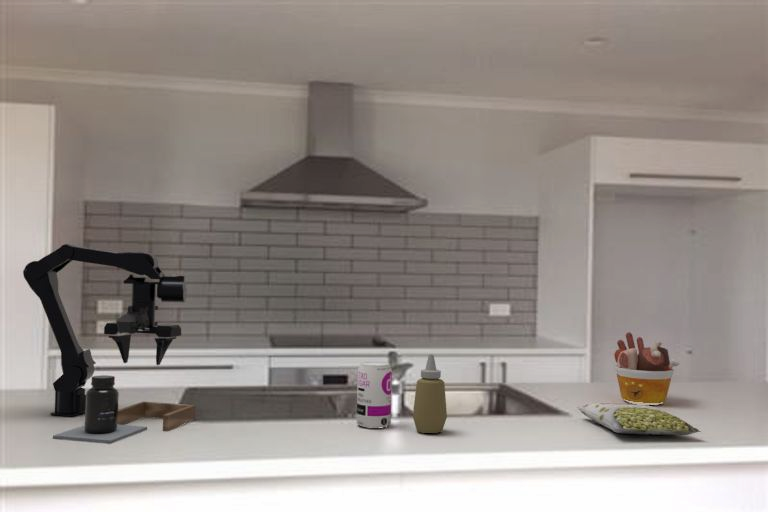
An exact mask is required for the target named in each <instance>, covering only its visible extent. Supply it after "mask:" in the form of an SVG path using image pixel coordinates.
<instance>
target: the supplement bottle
mask: <svg viewBox="0 0 768 512" xmlns="http://www.w3.org/2000/svg"><path fill="white" fill-rule="evenodd" d="M115 378H116V377H115V376H114V375H107V374H106V375H104V374H103V375H102V374H101V375H94V376H93V375H92V377H91V383H90V385H91V388H89V389H88V390H87V392H85V395H86V405H85V413H84V425H85V427H84V429H85V431H86V432H87V433H93V434H103V433H111V432H114V431H116V429H117V421H118V409H119V397H120V395H119V394H120V393H119V390H118V389H117V388H116V387H114V386H115V385H116V383H115V381H116V379H115Z"/></svg>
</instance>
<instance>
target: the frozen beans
mask: <svg viewBox="0 0 768 512" xmlns="http://www.w3.org/2000/svg"><path fill="white" fill-rule="evenodd" d="M576 408H577V409H578V410H579V411H580V412H581V413H582V414H583V415H584V416H586V417H587V418H589V419H591V420H592V421H594V422H596V423H598V424H600V425H602V426H604V427H606V428H607V429H610V430H612V432H615V433H617V434H628V435H629V434H630V435H632V434H633V435H649V434H652V435H653V436H654V435H656V436H658V435H661V436H664V435H665V436H687V435H692V434H695V433H702V431H701V430H699V429H698V428H696V427H694V426H693V425H691V424H690V423H688V422H687V421H685V420H683V419H681V418H680V417H678V416H675V415H673V414H671V413H669V412H666V411H664V410H662V409H660V408H658V407H656V406H648V405H637V404H630V403H608V402H607V403H593V404H592V403H591V404H585V405H582V406H578V407H576Z"/></svg>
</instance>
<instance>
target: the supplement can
mask: <svg viewBox="0 0 768 512" xmlns="http://www.w3.org/2000/svg"><path fill="white" fill-rule="evenodd" d="M392 377H393V369H392V367H391V366H390V363H389V362H386V361H385V362H384V361H363V362H360V364H359V366H358V368H357V384H356V385H357V386H356V387H357V388H356V391H357V393H356V424H357V425H358V426H359V425H360V426H363V427H371V428H379V427H386V426H388V427H389V426H390V425H391V422H392V421H391V420H392V386H393V385H392V381H393V378H392ZM360 426H359V427H360ZM386 428H387V427H386Z"/></svg>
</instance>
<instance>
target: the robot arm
mask: <svg viewBox="0 0 768 512" xmlns="http://www.w3.org/2000/svg"><path fill="white" fill-rule="evenodd" d="M72 261H74V262H75V261H76V262H82V263H89V264H94V265H103V266H108V267H116V268H119V269H122V270H124V271H127V272H130V273H131V274H129V276H128V277H127V278H125V280H123V284H126V285H127V284H131V305H128V307H127V311H126V313H124V314H123V315H121V316H120V317H118V318H117V319H116V321H114V322H113V321H112V322H106V324H105V325H104V327H103V334H104V335H108V336H107V337H108V338H109V339H112V341H114V342H115V344H116V345H117V348H118V351H119V354H120V356H121V358H122V362H123V364H127V363H128V360H129V355H130V348H131V347H130V346H131V340H132V334H151V335H153V334H154V335H156V336H157V337H155V338H154V341H155V343H156V350H155V351H156V353H155V354H156V355H155V363H156V366H160V365H161V364H162V361H163V359H164V357H165V354H166V352H167V351H168V349H169V347H170V346H171V343H172V342H173V340H177V337H180V336H182V328H181V326H180V324H175V323H174V324H172V323H171V324H168V323H167V324H158V321H155V319H156V311H158V309H159V305H156V296H157V299H159V300H160V301H161V303H186V300H187V293H188V292H187V291H188V290H187V284H186V283H187V282H186V276H185V275H177V276H174V275H173V276H171V275H168V276H167V275H165V274H164V272H163V271H162V270H161V268H160V267H159V261H158V258H157V257H156V255H154V254H153V253H151V252H145V251H143V252H142V251H133V252H129V251H128V252H119V251H116V252H115V251H111V250H103V249H96V248H91V247H84V246H77V245H75V244H72V243H71V244H70V243H69V244H67V243H66V244H62V245H61V246H60V247H58V248H57V249H56V250H54V251H52V252H51V253H48V254H47V255H45V256H43V257H42V258H40V259H39V260H34V261H31V262H29V263H27V264H26V265H25V267H24V269H23V271H22V273H23V275H22V276H23V278H24V280H25V281H26V283H27V284H28V286H29V288H30V289H31V290H32V292H33V293H34V294H35V295H36V296H37V297H38V299H40V302H41V305H42V308H43V309H44V313H45V315H46V318H47V321H48V323H49V325H50V328H51V330H52V333H53V335H54V338H55V340H56V343H57V345H58V348H59V350H60V366H61V370H62V375H61V376H59V377H58V378H57V379H56V380H55V381H54V382H53V383H52V387H53V388H54V397H55V398H54V411H51V412H50V413H49V415H51V416H61V417H62V416H63V417H75V416H79V415H82V414H85V405H86V388H85V386H86V383H87V381H89V379H92V377H93V375H94V373H95V369H96V368H95V365H96V363H97V362H96V361H95V360H94V358H93V357H92V351H91V350H90V349H91V348H88V349H86V350H84V349H83V348H82V347H81V346H80V344H79V342H78V339H77V337H76V334H75V332H74V329H73V325H72V324H71V321H70V318H69V316H68V314H67V312H66V310H65V305H64V303H63V301H62V299H61V296H60V293H59V277H58V273H59V272H61V271H62V270H64V269H65V267H67V266H68V265H69V264H70V263H71V262H72ZM132 273H133V274H132ZM134 274H135V275H140V277H137V276H135V275H134ZM141 276H142V277H141ZM145 276H146V277H145ZM148 278H149V279H151V280H159V281H149V279H148ZM83 387H84V388H83Z"/></svg>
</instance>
